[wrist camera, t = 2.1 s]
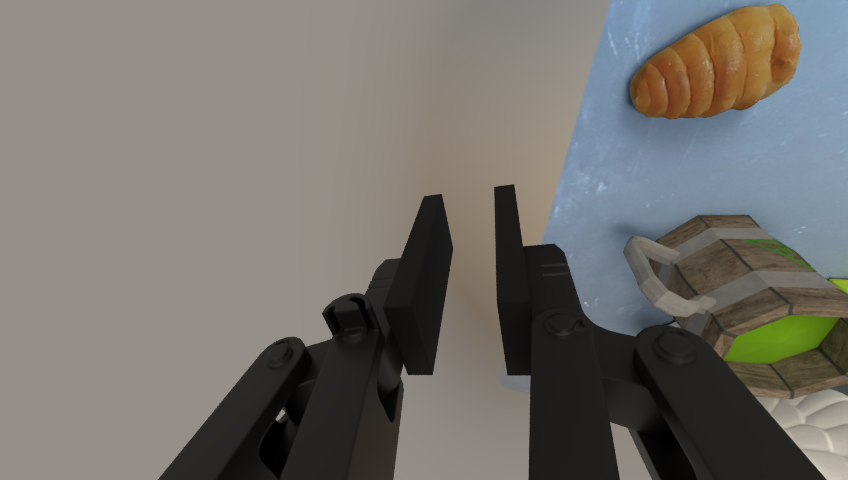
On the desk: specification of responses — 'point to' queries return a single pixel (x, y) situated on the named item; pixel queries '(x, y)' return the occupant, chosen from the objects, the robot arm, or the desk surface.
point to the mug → (748, 303)
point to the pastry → (720, 65)
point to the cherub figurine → (815, 427)
